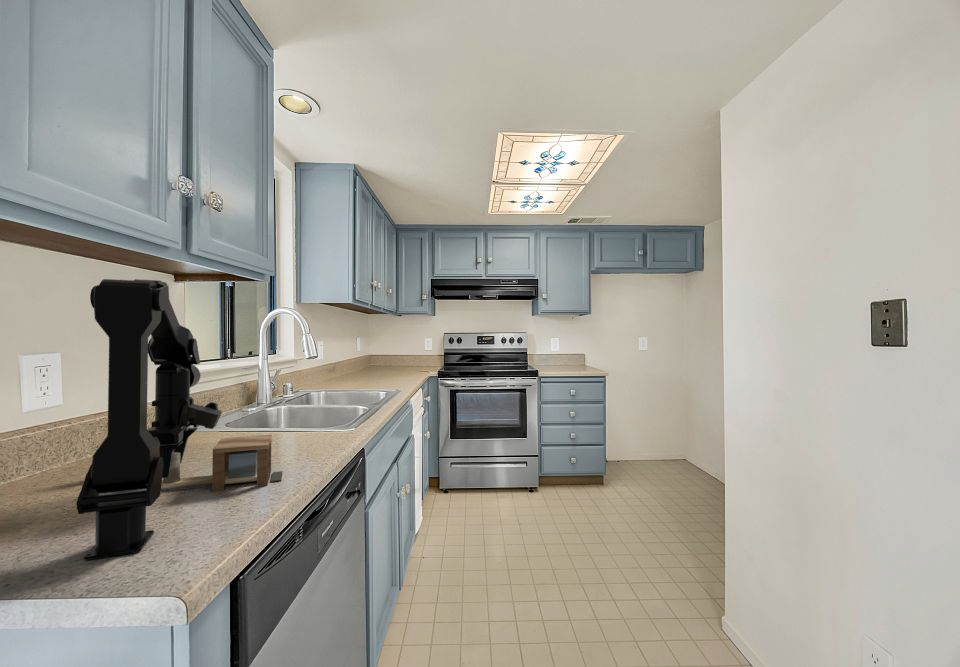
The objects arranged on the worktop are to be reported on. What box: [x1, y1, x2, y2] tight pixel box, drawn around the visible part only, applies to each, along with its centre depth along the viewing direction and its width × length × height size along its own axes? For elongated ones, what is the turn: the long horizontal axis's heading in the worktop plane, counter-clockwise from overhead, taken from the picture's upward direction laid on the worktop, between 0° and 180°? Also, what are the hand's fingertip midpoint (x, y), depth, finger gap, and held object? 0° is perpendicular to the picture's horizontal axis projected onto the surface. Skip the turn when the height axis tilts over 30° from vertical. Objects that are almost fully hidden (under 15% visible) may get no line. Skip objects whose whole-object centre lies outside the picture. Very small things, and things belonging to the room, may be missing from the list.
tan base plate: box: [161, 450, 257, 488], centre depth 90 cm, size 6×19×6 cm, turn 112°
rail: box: [99, 473, 271, 496], centre depth 88 cm, size 2×32×1 cm, turn 113°
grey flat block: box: [270, 470, 284, 483], centre depth 95 cm, size 6×2×1 cm, turn 22°
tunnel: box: [211, 434, 272, 493], centre depth 92 cm, size 10×10×8 cm
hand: (171, 470), depth 87 cm, fingers open, 9 cm apart
